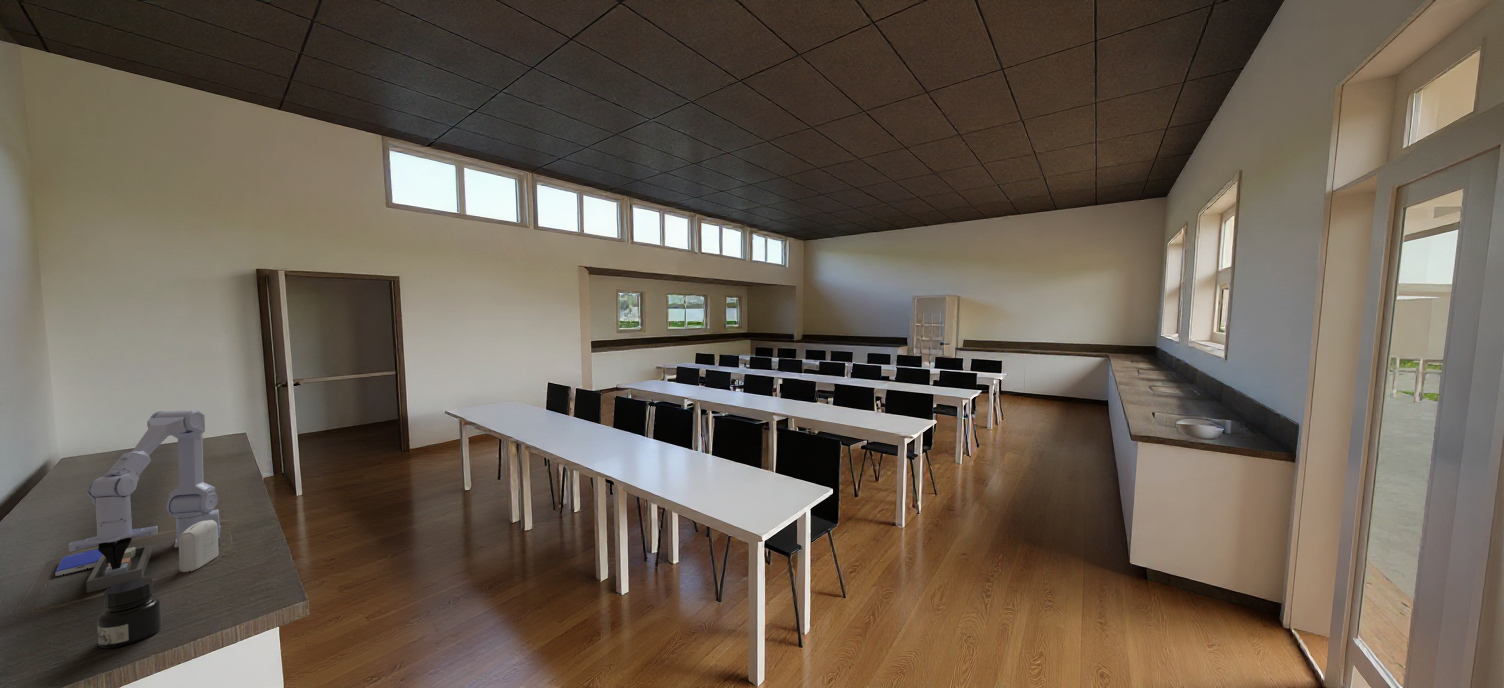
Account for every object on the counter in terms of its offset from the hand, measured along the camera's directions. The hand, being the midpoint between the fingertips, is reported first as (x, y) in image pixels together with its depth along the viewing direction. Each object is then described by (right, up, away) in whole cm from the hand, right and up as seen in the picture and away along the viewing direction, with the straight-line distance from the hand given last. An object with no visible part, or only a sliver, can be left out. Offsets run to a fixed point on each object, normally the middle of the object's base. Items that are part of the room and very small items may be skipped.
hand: (116, 567), depth 131 cm
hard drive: (-22, -3, +9) cm, 24 cm away
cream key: (-10, -2, +9) cm, 14 cm away
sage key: (-7, -1, +6) cm, 9 cm away
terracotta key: (-3, -2, +3) cm, 5 cm away
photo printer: (+12, -4, +10) cm, 16 cm away
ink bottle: (+34, -6, -23) cm, 41 cm away
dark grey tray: (-5, -4, +5) cm, 8 cm away
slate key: (0, -3, 0) cm, 3 cm away
